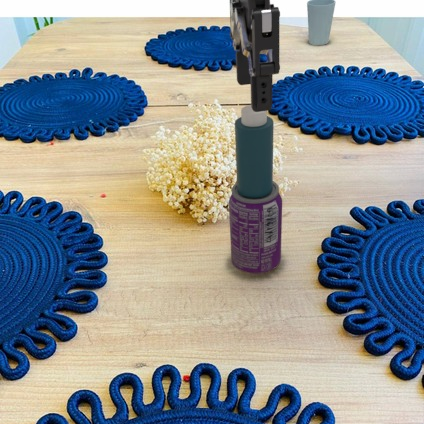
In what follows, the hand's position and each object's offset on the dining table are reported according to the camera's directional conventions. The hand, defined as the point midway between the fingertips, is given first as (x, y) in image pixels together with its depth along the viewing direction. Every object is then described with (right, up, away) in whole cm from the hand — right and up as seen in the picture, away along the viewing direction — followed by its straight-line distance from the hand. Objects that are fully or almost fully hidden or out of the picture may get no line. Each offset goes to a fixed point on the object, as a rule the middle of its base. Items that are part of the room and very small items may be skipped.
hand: (253, 96), depth 61 cm
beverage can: (+2, -18, +16) cm, 24 cm away
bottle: (+1, -9, +8) cm, 12 cm away
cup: (+26, +50, +91) cm, 107 cm away
